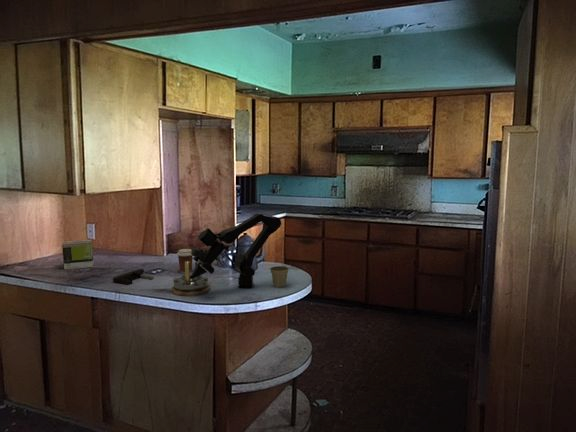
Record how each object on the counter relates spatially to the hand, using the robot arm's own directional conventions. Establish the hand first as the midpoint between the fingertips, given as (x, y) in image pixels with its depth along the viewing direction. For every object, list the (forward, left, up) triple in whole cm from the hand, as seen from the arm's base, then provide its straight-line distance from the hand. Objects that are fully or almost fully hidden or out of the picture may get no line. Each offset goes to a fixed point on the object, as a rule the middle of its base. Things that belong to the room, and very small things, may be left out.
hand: (191, 278), depth 216 cm
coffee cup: (+16, -40, -8) cm, 44 cm away
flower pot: (-39, -19, -8) cm, 44 cm away
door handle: (+37, -22, -8) cm, 44 cm away
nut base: (+2, -7, -8) cm, 10 cm away
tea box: (+81, -44, -8) cm, 93 cm away
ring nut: (+2, -7, -6) cm, 9 cm away
